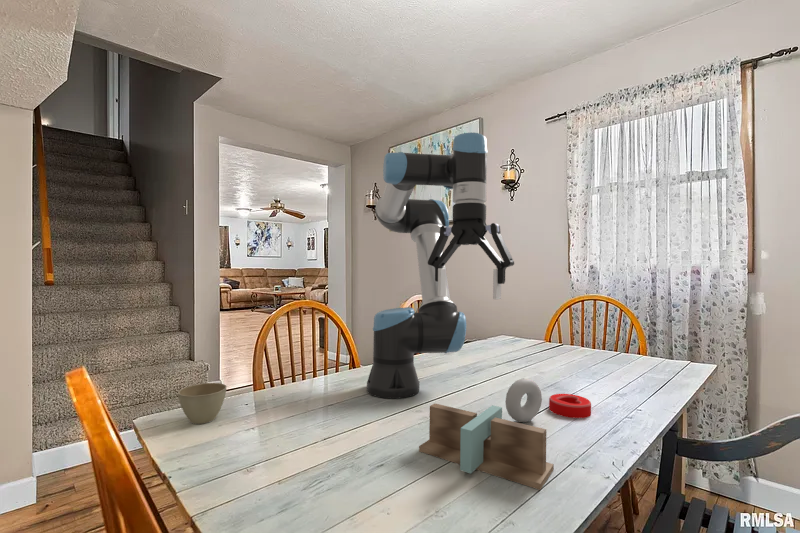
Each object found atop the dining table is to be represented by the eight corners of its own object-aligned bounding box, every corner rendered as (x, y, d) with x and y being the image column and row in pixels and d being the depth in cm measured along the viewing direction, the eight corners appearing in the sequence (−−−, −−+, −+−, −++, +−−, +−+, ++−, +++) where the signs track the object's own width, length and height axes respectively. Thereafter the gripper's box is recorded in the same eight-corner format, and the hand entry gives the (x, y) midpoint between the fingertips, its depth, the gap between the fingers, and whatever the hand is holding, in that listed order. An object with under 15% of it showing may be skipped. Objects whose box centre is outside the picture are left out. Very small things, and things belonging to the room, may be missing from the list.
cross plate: (470, 473, 68) (471, 430, 68) (460, 470, 69) (460, 427, 69) (501, 444, 79) (502, 407, 79) (492, 441, 81) (492, 405, 81)
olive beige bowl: (216, 409, 100) (216, 380, 100) (233, 420, 93) (233, 389, 93) (171, 419, 93) (172, 388, 93) (186, 432, 86) (186, 398, 86)
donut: (512, 428, 90) (513, 383, 90) (501, 422, 93) (502, 379, 93) (545, 420, 95) (545, 377, 94) (533, 415, 98) (534, 374, 98)
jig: (419, 451, 78) (419, 409, 78) (439, 437, 85) (439, 398, 85) (540, 490, 65) (540, 440, 65) (553, 469, 72) (554, 424, 72)
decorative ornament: (541, 406, 105) (542, 394, 105) (575, 404, 107) (575, 392, 107) (563, 420, 96) (563, 406, 96) (599, 417, 97) (600, 404, 97)
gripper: (414, 205, 96) (413, 295, 96) (518, 196, 82) (516, 301, 82) (430, 209, 102) (429, 293, 102) (529, 201, 88) (528, 299, 88)
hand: (468, 297), depth 92 cm, fingers open, 13 cm apart
